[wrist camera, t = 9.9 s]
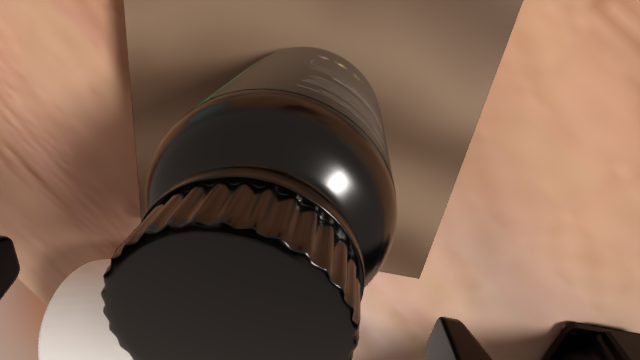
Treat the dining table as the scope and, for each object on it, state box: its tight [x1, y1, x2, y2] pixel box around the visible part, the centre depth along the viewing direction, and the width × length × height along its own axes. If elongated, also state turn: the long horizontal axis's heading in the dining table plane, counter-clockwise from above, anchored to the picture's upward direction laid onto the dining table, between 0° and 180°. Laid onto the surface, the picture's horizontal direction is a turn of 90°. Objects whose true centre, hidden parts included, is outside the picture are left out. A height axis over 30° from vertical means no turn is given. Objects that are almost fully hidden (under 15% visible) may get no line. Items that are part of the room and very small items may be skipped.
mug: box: [38, 259, 133, 360], centre depth 23 cm, size 12×10×8 cm
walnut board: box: [124, 0, 523, 279], centre depth 18 cm, size 16×16×2 cm
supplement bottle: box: [101, 47, 397, 360], centre depth 12 cm, size 7×7×12 cm
